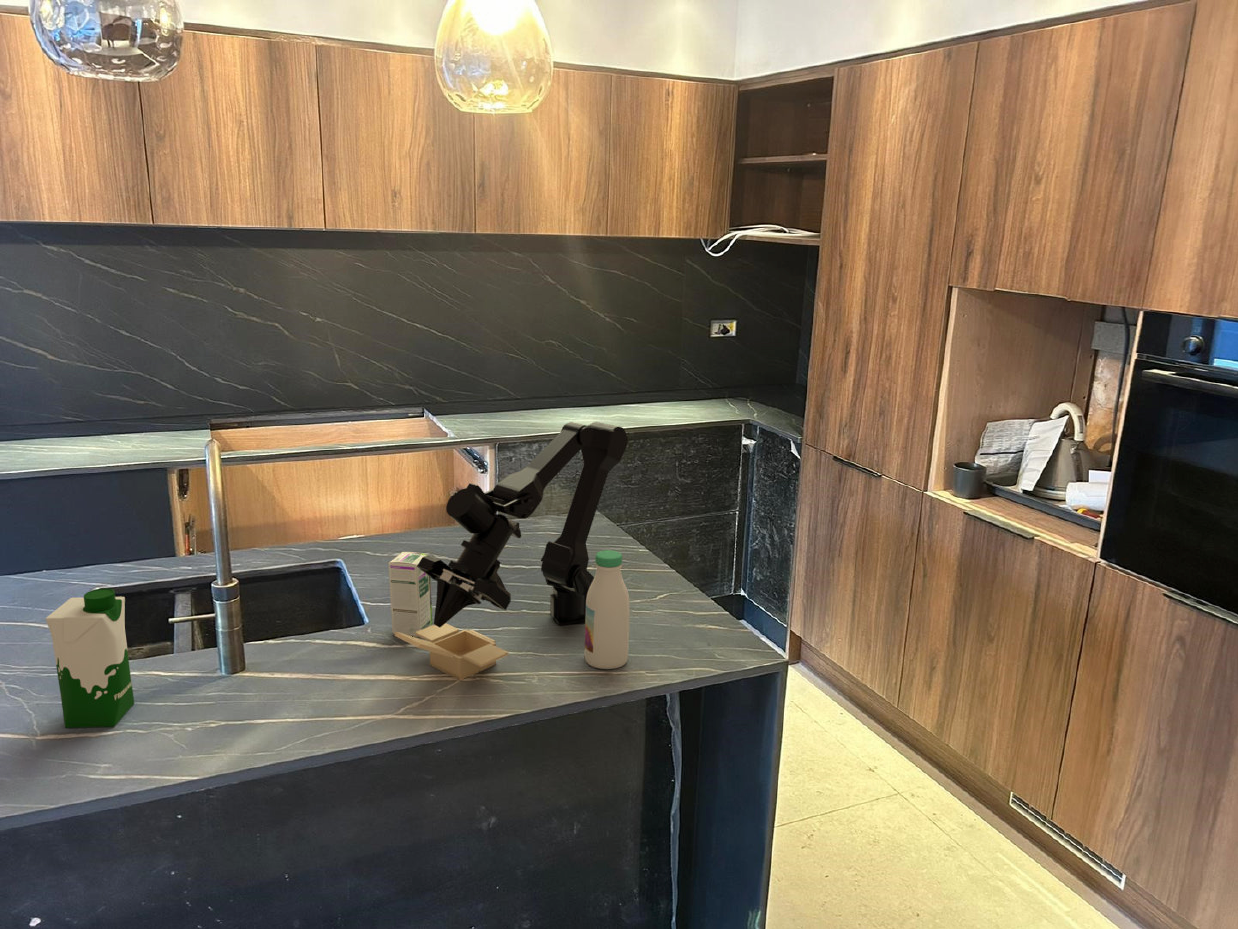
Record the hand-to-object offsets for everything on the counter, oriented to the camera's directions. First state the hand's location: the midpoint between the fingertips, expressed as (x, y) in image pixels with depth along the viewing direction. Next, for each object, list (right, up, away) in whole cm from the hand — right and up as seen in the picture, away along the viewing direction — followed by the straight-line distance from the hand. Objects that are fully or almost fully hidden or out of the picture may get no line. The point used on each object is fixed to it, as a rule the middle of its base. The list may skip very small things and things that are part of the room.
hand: (436, 626), depth 151 cm
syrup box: (-8, -4, +19) cm, 21 cm away
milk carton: (-49, -12, -12) cm, 52 cm away
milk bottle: (+28, -8, +9) cm, 31 cm away
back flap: (+1, -4, +2) cm, 5 cm away
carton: (+3, -8, +6) cm, 11 cm away
